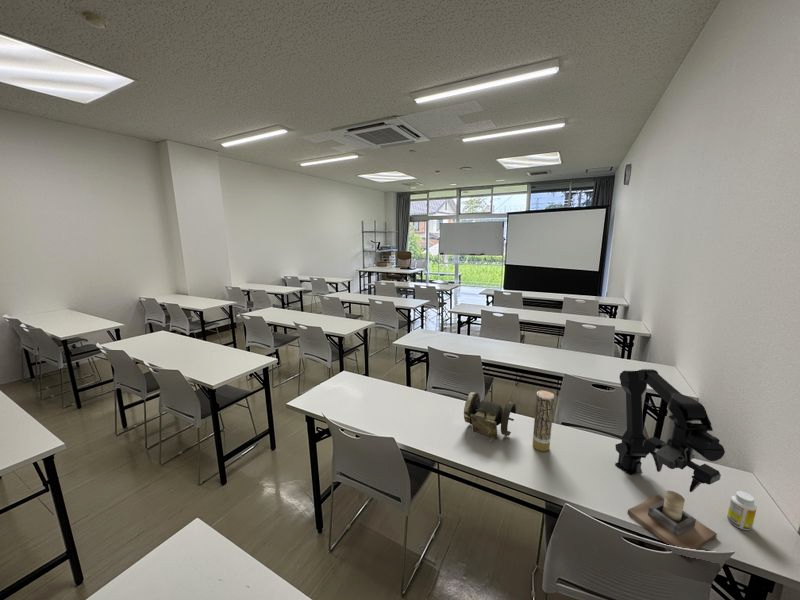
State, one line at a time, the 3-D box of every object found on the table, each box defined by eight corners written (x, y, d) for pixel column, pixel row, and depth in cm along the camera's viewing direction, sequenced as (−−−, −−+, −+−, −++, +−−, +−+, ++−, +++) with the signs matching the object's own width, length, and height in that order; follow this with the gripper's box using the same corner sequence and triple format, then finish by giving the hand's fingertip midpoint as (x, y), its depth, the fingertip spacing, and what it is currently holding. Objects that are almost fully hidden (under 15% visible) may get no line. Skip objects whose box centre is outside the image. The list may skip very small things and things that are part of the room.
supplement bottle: (750, 523, 102) (757, 495, 100) (752, 534, 98) (759, 506, 96) (726, 513, 106) (732, 486, 104) (726, 523, 102) (733, 496, 100)
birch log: (551, 453, 136) (556, 398, 131) (534, 451, 137) (538, 397, 132) (547, 443, 142) (552, 391, 137) (531, 441, 144) (535, 389, 139)
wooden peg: (658, 517, 103) (662, 493, 101) (666, 512, 104) (671, 489, 103) (674, 529, 99) (679, 504, 97) (683, 524, 100) (688, 499, 99)
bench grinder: (475, 406, 167) (468, 380, 156) (519, 417, 154) (515, 390, 144) (461, 440, 153) (453, 414, 143) (508, 455, 141) (502, 428, 131)
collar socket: (627, 513, 106) (629, 501, 105) (657, 498, 112) (659, 487, 111) (684, 557, 91) (687, 544, 91) (716, 537, 97) (718, 525, 96)
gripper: (635, 428, 107) (628, 468, 110) (703, 465, 90) (693, 511, 93) (656, 420, 111) (649, 460, 114) (726, 455, 94) (715, 500, 97)
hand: (674, 481), depth 104 cm, fingers open, 9 cm apart
